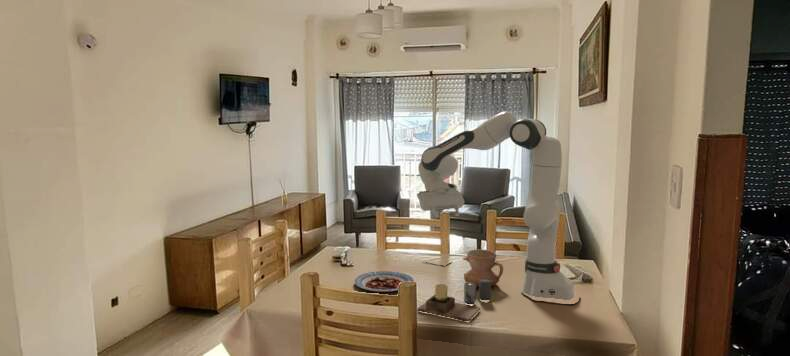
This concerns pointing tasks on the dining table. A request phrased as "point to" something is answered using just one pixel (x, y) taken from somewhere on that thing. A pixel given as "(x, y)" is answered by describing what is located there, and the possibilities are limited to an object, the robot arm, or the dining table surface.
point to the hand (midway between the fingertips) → (448, 216)
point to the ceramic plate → (382, 280)
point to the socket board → (449, 309)
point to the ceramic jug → (482, 267)
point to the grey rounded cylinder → (485, 289)
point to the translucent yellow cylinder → (441, 293)
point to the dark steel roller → (469, 292)
